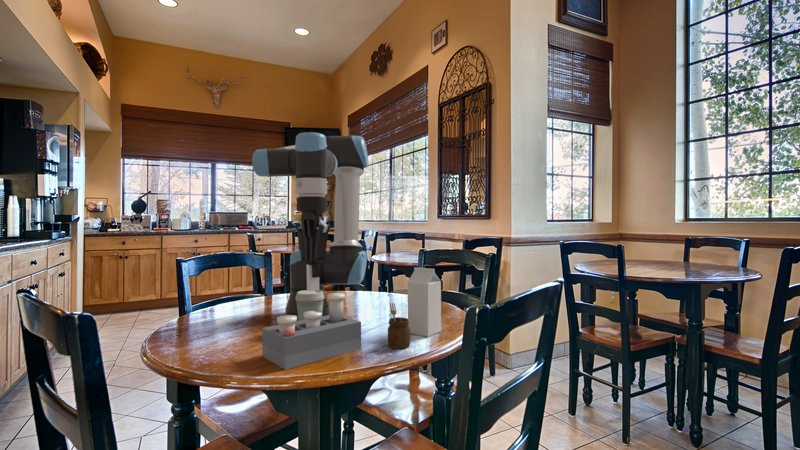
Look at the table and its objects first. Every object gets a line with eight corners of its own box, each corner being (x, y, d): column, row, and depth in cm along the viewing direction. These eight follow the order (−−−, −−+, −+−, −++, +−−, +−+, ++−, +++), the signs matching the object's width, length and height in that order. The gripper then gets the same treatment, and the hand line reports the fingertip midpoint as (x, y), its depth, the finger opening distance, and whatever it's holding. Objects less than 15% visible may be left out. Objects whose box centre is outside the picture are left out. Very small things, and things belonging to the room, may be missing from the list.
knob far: (324, 321, 105) (324, 294, 105) (338, 318, 108) (338, 292, 108) (333, 324, 102) (333, 296, 102) (348, 321, 105) (348, 294, 105)
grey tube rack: (262, 356, 98) (262, 323, 98) (335, 338, 112) (335, 309, 112) (285, 369, 89) (285, 333, 89) (361, 348, 103) (361, 317, 103)
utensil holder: (414, 344, 107) (414, 299, 106) (402, 351, 101) (402, 304, 101) (395, 341, 110) (395, 297, 109) (382, 347, 104) (382, 301, 104)
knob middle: (300, 340, 101) (300, 312, 101) (316, 336, 104) (316, 309, 104) (309, 344, 97) (309, 315, 97) (325, 340, 100) (325, 312, 100)
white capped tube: (273, 346, 96) (273, 317, 96) (291, 342, 99) (291, 314, 99) (282, 351, 93) (282, 320, 92) (300, 346, 96) (300, 317, 96)
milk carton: (428, 337, 113) (427, 270, 113) (407, 333, 117) (407, 268, 117) (441, 331, 118) (441, 267, 118) (421, 328, 123) (421, 266, 123)
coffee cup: (318, 336, 114) (317, 294, 114) (290, 335, 116) (289, 294, 116) (329, 328, 122) (328, 289, 122) (303, 327, 124) (302, 288, 124)
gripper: (285, 196, 102) (287, 288, 103) (311, 194, 93) (313, 296, 93) (311, 197, 107) (312, 284, 108) (339, 195, 98) (340, 291, 99)
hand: (313, 289), depth 101 cm, fingers closed
